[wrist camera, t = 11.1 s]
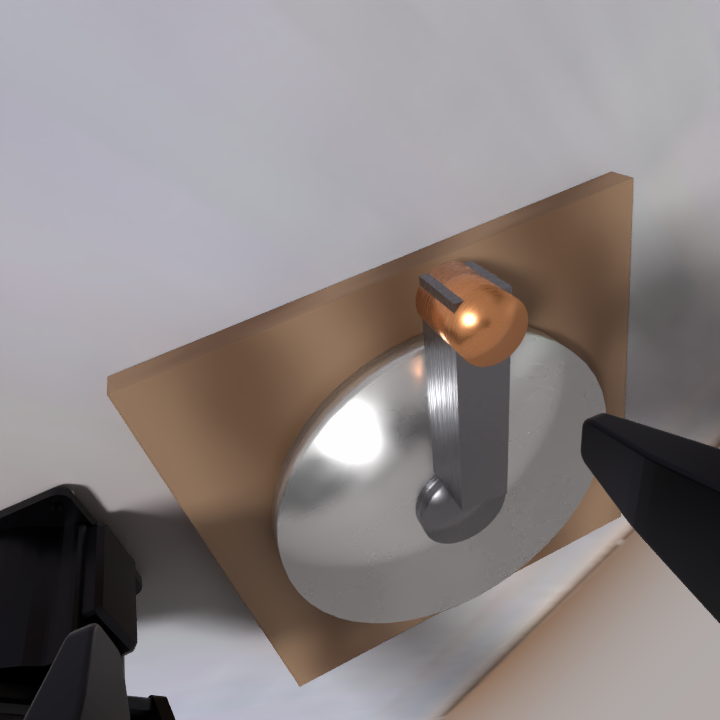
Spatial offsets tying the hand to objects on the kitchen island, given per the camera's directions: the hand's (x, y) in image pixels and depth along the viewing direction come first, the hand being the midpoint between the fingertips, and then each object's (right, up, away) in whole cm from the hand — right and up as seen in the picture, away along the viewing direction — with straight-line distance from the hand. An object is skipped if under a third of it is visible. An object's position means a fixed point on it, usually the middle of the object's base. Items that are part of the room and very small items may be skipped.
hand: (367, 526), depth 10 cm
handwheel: (+4, -1, +15) cm, 16 cm away
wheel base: (+3, -2, +17) cm, 18 cm away
